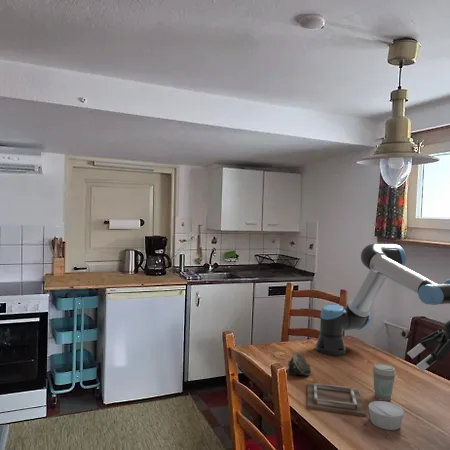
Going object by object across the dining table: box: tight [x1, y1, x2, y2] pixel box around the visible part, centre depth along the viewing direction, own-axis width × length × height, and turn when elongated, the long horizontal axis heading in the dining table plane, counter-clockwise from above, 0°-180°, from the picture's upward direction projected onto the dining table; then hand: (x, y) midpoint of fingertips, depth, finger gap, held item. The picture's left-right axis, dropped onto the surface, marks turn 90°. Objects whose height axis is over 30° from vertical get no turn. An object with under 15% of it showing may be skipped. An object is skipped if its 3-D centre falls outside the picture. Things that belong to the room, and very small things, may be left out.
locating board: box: [306, 382, 367, 417], centre depth 150 cm, size 20×20×2 cm
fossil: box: [287, 353, 312, 378], centre depth 175 cm, size 11×9×10 cm
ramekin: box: [367, 400, 405, 431], centre depth 134 cm, size 11×11×5 cm
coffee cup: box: [372, 363, 397, 402], centre depth 154 cm, size 8×8×12 cm
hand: (414, 362), depth 152 cm, fingers open, 13 cm apart
